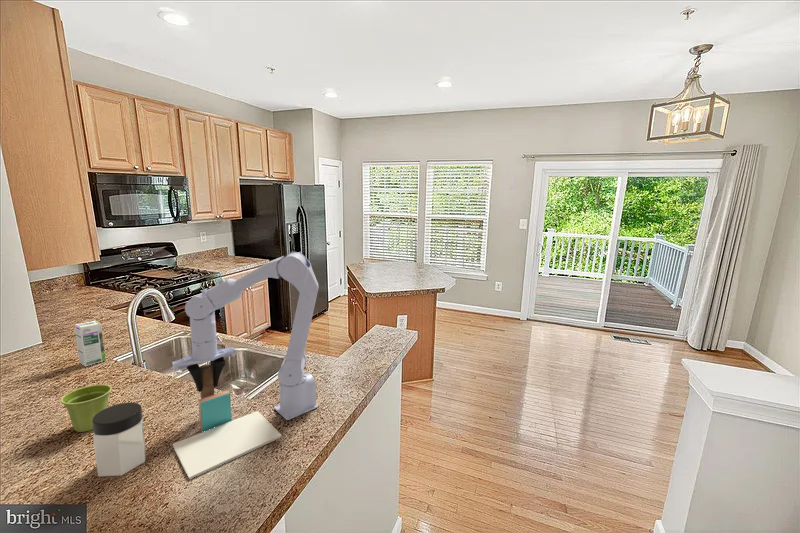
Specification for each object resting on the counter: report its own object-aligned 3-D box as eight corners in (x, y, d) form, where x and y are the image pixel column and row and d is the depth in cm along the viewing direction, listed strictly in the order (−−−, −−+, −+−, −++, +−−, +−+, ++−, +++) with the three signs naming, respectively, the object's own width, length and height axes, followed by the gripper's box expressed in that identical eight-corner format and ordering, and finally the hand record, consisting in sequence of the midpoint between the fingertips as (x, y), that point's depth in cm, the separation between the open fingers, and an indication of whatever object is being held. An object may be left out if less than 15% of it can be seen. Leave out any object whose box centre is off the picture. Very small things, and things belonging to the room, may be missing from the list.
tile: (229, 418, 91) (227, 390, 90) (232, 421, 90) (230, 393, 89) (200, 429, 86) (198, 400, 85) (202, 432, 85) (200, 403, 84)
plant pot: (77, 418, 89) (73, 387, 88) (120, 411, 93) (117, 381, 91) (56, 440, 81) (51, 406, 79) (105, 432, 84) (101, 399, 83)
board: (257, 412, 94) (257, 410, 94) (281, 437, 84) (281, 434, 84) (172, 446, 80) (172, 443, 80) (189, 480, 70) (188, 477, 70)
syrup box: (85, 367, 117) (80, 327, 115) (78, 363, 120) (73, 323, 118) (106, 361, 122) (101, 322, 120) (99, 357, 125) (95, 319, 123)
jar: (156, 449, 79) (152, 401, 77) (132, 476, 71) (127, 423, 69) (114, 450, 78) (109, 402, 76) (85, 478, 70) (78, 424, 68)
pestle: (212, 393, 94) (210, 363, 93) (216, 398, 92) (214, 367, 90) (199, 398, 92) (197, 366, 90) (203, 403, 89) (200, 370, 88)
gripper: (228, 329, 97) (230, 374, 99) (167, 341, 87) (171, 391, 89) (237, 335, 92) (239, 382, 94) (174, 350, 82) (178, 402, 84)
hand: (207, 387), depth 91 cm, fingers closed on pestle, 3 cm apart
